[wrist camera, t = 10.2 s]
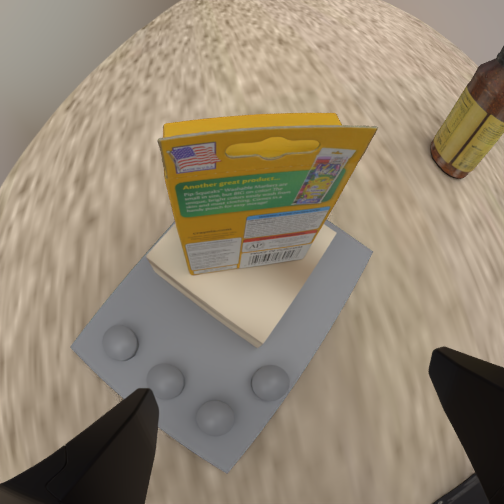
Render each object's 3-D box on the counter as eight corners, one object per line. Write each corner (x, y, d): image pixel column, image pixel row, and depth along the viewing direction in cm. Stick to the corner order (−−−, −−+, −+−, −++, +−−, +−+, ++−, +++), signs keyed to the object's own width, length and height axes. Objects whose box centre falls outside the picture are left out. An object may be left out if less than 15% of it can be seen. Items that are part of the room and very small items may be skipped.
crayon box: (293, 219, 21) (351, 78, 10) (304, 259, 20) (384, 131, 9) (184, 232, 20) (156, 83, 9) (189, 276, 19) (154, 143, 8)
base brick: (257, 348, 20) (263, 343, 17) (154, 271, 22) (145, 256, 19) (324, 250, 24) (336, 232, 21) (229, 188, 25) (230, 165, 22)
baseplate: (226, 469, 17) (227, 477, 16) (75, 348, 20) (65, 345, 18) (368, 256, 25) (377, 247, 23) (232, 167, 27) (233, 155, 25)
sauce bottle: (469, 165, 32) (553, 61, 13) (460, 190, 30) (561, 75, 11) (432, 132, 33) (505, 18, 15) (419, 154, 31) (506, 23, 13)
